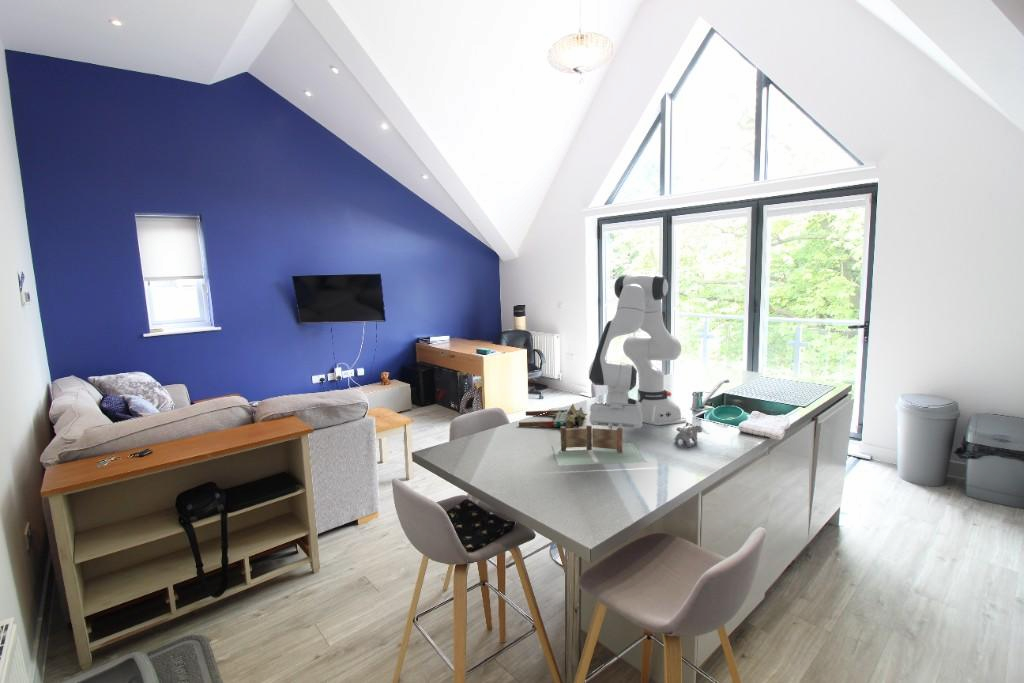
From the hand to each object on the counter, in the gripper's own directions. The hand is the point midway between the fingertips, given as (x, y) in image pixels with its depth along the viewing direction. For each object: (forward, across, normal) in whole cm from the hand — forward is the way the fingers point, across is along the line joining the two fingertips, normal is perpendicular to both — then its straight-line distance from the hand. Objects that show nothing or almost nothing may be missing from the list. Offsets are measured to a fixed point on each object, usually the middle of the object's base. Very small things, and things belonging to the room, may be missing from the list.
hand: (614, 435), depth 185 cm
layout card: (+8, -6, +1) cm, 10 cm away
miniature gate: (-18, -31, +28) cm, 46 cm away
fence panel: (+5, -3, +3) cm, 6 cm away
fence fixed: (+6, -14, +2) cm, 16 cm away
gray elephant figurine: (-7, +28, +16) cm, 33 cm away
